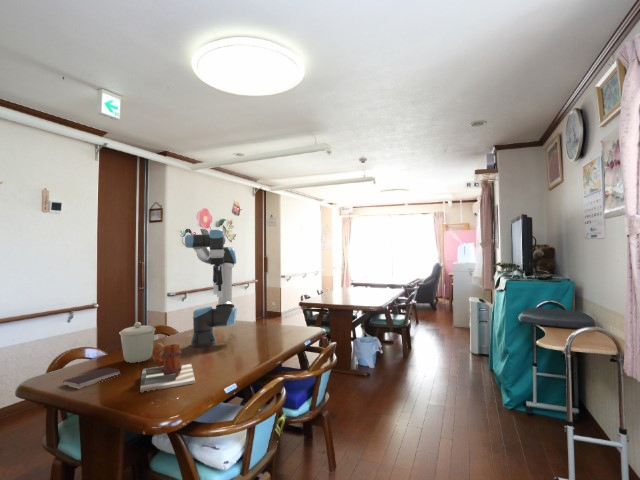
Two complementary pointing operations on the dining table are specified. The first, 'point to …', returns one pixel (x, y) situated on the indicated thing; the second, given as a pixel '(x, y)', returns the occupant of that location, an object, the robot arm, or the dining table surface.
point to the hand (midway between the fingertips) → (217, 295)
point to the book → (92, 376)
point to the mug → (168, 358)
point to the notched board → (165, 378)
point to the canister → (137, 342)
